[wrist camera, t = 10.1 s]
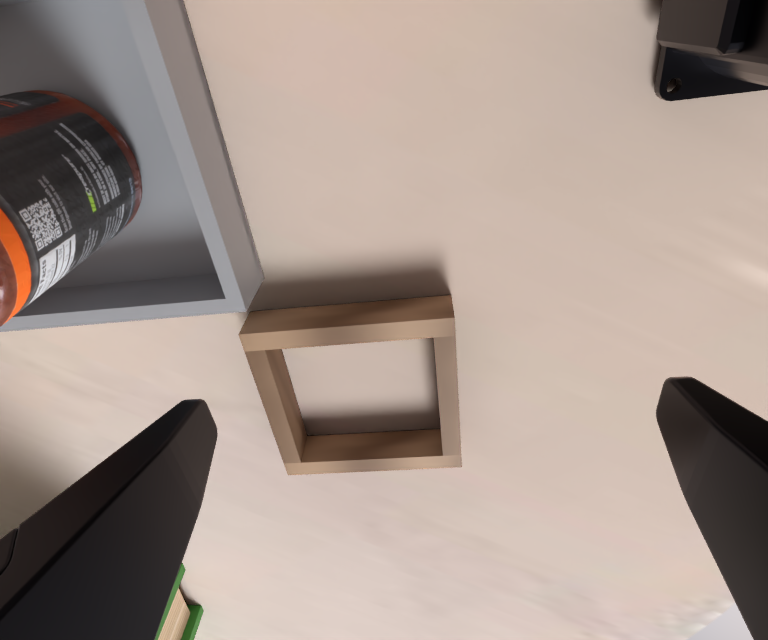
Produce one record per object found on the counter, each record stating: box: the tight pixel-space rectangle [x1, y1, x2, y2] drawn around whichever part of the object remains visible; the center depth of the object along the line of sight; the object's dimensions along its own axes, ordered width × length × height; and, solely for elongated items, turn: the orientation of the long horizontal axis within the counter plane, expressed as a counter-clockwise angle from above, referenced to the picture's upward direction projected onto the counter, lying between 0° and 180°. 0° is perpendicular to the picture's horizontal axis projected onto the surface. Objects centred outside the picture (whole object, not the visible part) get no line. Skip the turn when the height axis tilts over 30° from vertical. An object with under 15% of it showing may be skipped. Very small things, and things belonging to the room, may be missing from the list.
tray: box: [0, 0, 264, 332], centre depth 19 cm, size 12×12×3 cm
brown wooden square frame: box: [239, 295, 462, 475], centre depth 25 cm, size 10×10×2 cm
